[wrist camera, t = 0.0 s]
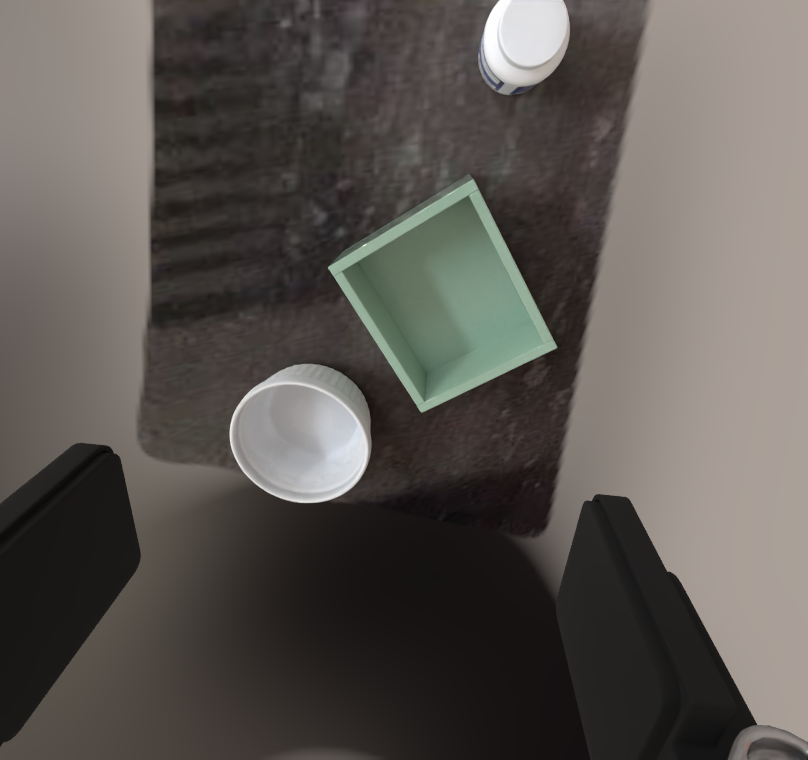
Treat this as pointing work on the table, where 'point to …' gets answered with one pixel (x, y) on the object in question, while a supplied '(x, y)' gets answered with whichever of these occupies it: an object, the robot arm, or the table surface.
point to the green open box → (443, 296)
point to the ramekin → (303, 434)
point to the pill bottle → (523, 43)
